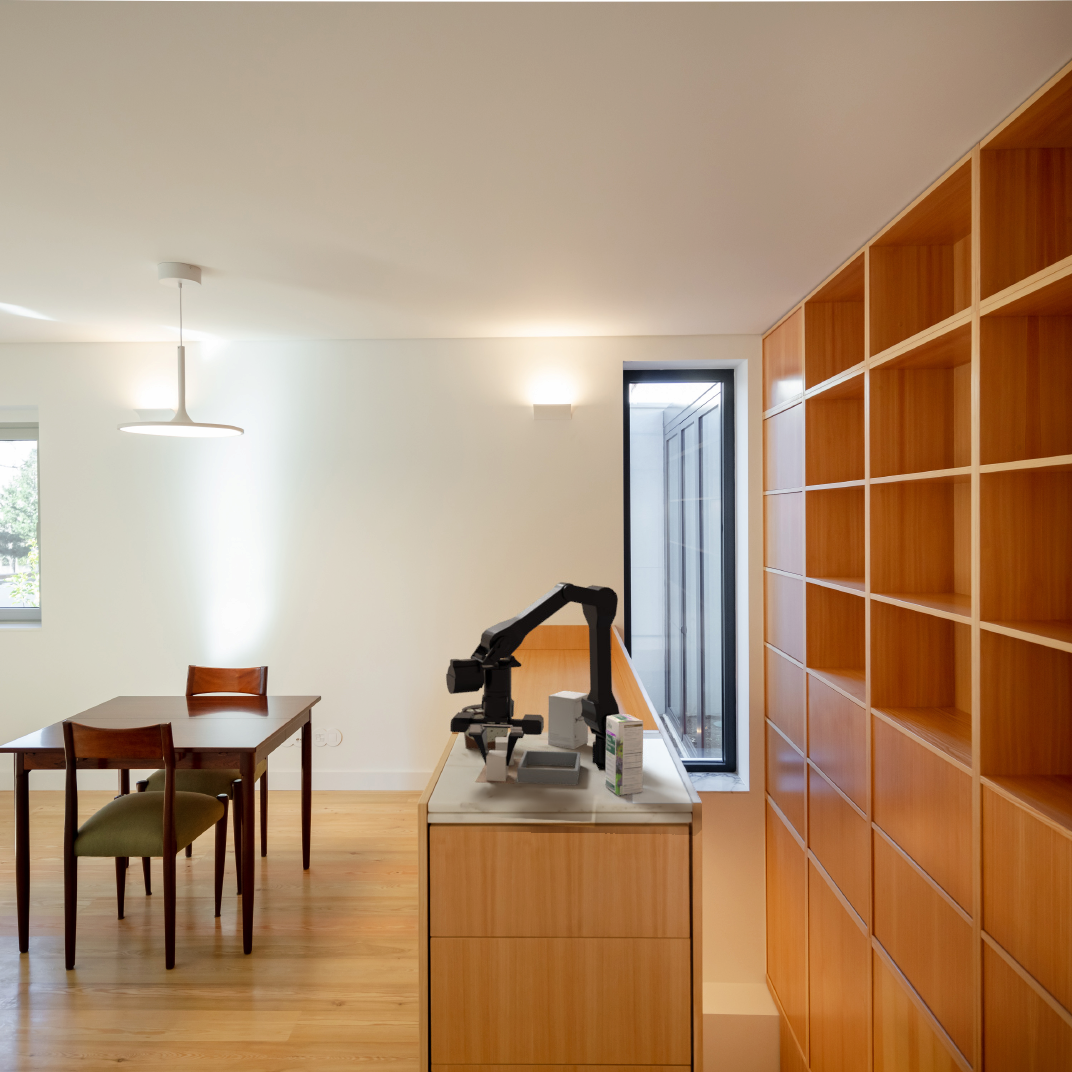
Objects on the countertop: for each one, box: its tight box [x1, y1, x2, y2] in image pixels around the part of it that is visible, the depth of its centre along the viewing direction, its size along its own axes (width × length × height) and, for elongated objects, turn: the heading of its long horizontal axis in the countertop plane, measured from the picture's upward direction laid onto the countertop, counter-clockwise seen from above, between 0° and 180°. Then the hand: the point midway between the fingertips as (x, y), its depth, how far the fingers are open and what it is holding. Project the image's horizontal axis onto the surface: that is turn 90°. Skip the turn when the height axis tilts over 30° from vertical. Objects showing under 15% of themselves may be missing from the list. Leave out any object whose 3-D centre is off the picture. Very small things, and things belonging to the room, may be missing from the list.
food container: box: [460, 703, 513, 750], centre depth 170 cm, size 12×6×10 cm, turn 84°
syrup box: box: [604, 713, 644, 796], centre depth 143 cm, size 6×6×14 cm
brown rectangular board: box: [474, 757, 521, 785], centre depth 152 cm, size 8×16×1 cm, turn 174°
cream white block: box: [494, 736, 515, 765], centre depth 157 cm, size 4×4×5 cm
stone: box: [486, 749, 508, 781], centre depth 147 cm, size 4×4×5 cm
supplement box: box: [547, 690, 589, 750], centre depth 172 cm, size 7×7×13 cm
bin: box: [516, 749, 581, 786], centre depth 150 cm, size 12×12×4 cm
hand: (497, 764), depth 147 cm, fingers closed on stone, 4 cm apart
